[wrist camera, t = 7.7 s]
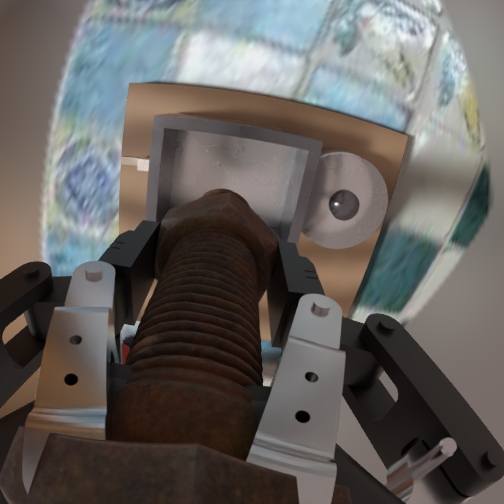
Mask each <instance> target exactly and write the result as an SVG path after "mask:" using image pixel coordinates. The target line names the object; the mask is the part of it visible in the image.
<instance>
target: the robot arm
mask: <svg viewBox="0 0 504 504" xmlns="http://www.w3.org/2000/svg"><path fill="white" fill-rule="evenodd" d="M160 227H161V222H154V221H147V220H142V222H141V223H140V224H139V225H138V226H137V228H136V229H135V230H134V231H132V230H128V231H126V232H124V233H122V234H120V235H119V236H118V237H117V238H116V239H115V240H114V242H113V243H112V244H111V245H110V248H108V249H107V250H106V251H105V252H104V254H103V255H102V256H101V257H100V259H99V260H98V261H90V262H86V263H83V264H81V265H79V266H78V267H77V268H76V269H75V270H74V272H73V275H72V276H65V277H52V272H51V267H50V266H49V265H48V264H47V263H44V262H39V261H37V262H29V263H26V264H24V265H22V266H20V267H19V268H17V269H15V270H14V271H12V272H11V273H9V274H8V275H6V276H5V277H3V278H2V279H0V408H1V407H2V406H3V405H4V404H5V403H6V401H7V400H8V399H9V398H10V397H11V396H12V395H13V394H14V393H15V392H16V391H17V390H18V389H19V388H20V387H21V386H22V385H23V384H24V382H26V381H27V379H28V378H29V377H30V376H31V375H32V374H33V373H34V372H35V371H36V370H37V369H38V368H39V367H40V366H41V367H40V372H39V378H38V384H37V390H36V397H35V400H34V401H32V402H30V403H28V404H27V405H25V406H23V407H21V408H19V409H17V410H16V411H14V412H12V413H10V414H8V415H6V416H5V417H3V418H1V419H0V473H1V471H2V468H3V465H4V462H5V460H6V457H7V455H8V452H9V449H10V447H11V445H12V442H13V440H14V437H15V435H16V433H17V430H18V428H19V426H25V430H24V442H23V459H22V478H23V483H24V487H25V489H26V491H27V494H28V493H29V490H30V486H31V483H32V480H33V477H34V474H35V471H36V468H37V465H38V462H39V459H40V456H41V454H42V451H43V448H44V446H45V443H46V441H47V438H48V436H49V433H58V434H64V435H70V436H76V437H83V438H91V439H100V440H109V441H113V436H112V406H113V403H114V400H115V397H116V394H117V391H118V389H119V388H120V387H121V386H123V385H124V384H126V380H124V379H125V377H127V376H129V375H131V374H133V373H134V372H133V371H132V370H131V369H130V366H128V365H123V364H122V334H121V330H122V327H123V325H124V324H128V325H133V326H134V325H135V323H136V320H137V318H138V316H139V313H140V311H141V309H142V306H143V304H144V302H145V300H146V297H147V295H148V293H149V291H150V288H151V286H152V284H153V282H154V280H155V273H154V263H155V253H156V247H157V241H158V236H159V232H160ZM277 243H278V253H277V258H276V262H275V266H274V269H273V272H272V275H271V278H270V282H269V284H268V286H267V289H266V293H267V303H268V314H269V324H270V335H271V345H272V347H279V348H281V350H282V353H281V356H280V359H279V361H278V364H277V367H276V370H275V373H274V376H273V379H272V382H271V385H270V387H268V386H256V385H249V386H246V387H245V388H246V389H247V390H249V391H250V392H252V393H253V394H254V400H252V401H251V404H252V405H253V406H254V407H255V408H256V410H257V430H256V432H255V435H254V438H253V441H252V443H251V446H250V449H249V451H248V454H247V456H246V459H245V461H246V462H249V463H253V464H256V465H259V466H262V467H265V468H269V469H272V470H276V471H279V472H283V473H287V474H290V475H293V476H296V477H297V486H298V495H299V504H331V501H332V496H333V491H334V485H335V484H337V485H342V486H347V487H349V489H350V494H351V500H352V504H462V503H464V502H466V501H467V500H469V499H471V498H472V497H474V496H476V495H477V494H479V493H480V492H482V491H483V490H485V489H486V488H488V487H489V486H491V485H492V484H494V483H495V482H497V481H498V480H499V479H501V478H502V477H503V475H504V451H503V449H502V448H501V446H500V445H499V443H498V442H497V441H496V439H495V438H494V437H493V435H492V434H491V433H490V431H489V430H488V429H487V427H486V426H485V425H484V423H483V422H482V421H481V420H480V418H479V417H478V416H477V414H476V413H475V412H474V411H473V409H472V408H471V407H470V406H469V404H468V403H467V402H466V401H465V399H464V398H463V397H462V395H461V394H460V393H459V392H458V391H457V389H456V388H455V387H454V386H453V384H452V383H451V382H450V381H449V380H448V378H447V377H446V376H445V375H444V374H443V373H442V371H441V370H440V369H439V368H438V366H437V365H436V364H435V363H434V362H433V361H432V359H431V358H430V357H429V356H428V355H427V354H426V352H425V351H423V349H422V348H421V347H420V346H419V344H418V343H417V342H416V341H415V340H414V339H413V338H412V337H411V335H410V334H409V333H408V332H407V331H406V330H405V329H404V328H403V327H402V325H401V324H400V323H399V322H398V321H396V320H395V319H393V318H392V317H390V316H387V315H384V314H378V313H376V314H371V315H369V316H368V317H367V319H366V321H365V323H364V324H363V323H360V322H357V321H354V320H350V319H348V318H345V317H343V316H342V309H341V307H340V306H339V305H338V303H336V302H335V301H334V300H332V299H331V298H329V297H327V296H326V295H325V293H324V290H323V287H322V285H321V282H320V280H319V277H318V274H317V271H316V269H315V266H314V264H313V263H312V262H311V261H310V260H309V259H308V258H307V257H302V256H299V253H298V250H297V247H296V244H295V243H290V242H284V241H278V240H277ZM22 313H24V316H25V319H26V322H27V326H26V327H25V328H24V329H22V330H21V331H20V332H19V333H18V334H17V335H15V336H14V337H13V338H12V339H11V340H10V341H8V342H7V343H6V344H5V345H4V343H3V340H2V335H3V331H4V329H5V328H6V327H7V326H8V325H9V324H10V323H11V322H13V321H14V320H15V319H16V318H17V317H19V316H20V315H21V314H22ZM383 371H385V372H386V373H387V374H388V376H389V377H390V379H391V380H392V382H393V383H394V384H395V386H396V387H397V390H398V400H397V402H395V401H394V400H393V398H392V397H391V395H390V394H389V393H388V391H387V390H386V388H385V387H384V386H383V384H382V383H381V381H380V380H379V377H380V376H381V374H382V373H383ZM342 395H343V397H344V399H345V400H346V402H347V404H348V405H349V407H350V409H351V410H352V412H353V414H354V415H355V417H356V418H357V420H358V422H359V424H360V425H361V427H362V429H363V430H364V432H365V434H366V435H367V437H368V439H369V440H370V442H371V443H372V445H373V447H374V449H375V450H376V452H377V454H378V455H379V457H380V458H381V460H382V462H383V463H384V465H385V467H386V469H387V470H388V471H387V477H386V479H387V483H386V484H385V486H384V485H383V484H382V483H380V482H379V481H378V480H377V479H376V478H374V477H373V476H372V475H371V474H370V473H369V472H367V471H366V470H365V469H364V468H363V467H362V466H360V464H358V463H357V462H356V461H355V460H354V459H353V458H352V457H351V456H350V455H348V454H347V453H346V452H345V451H344V450H343V449H342V448H341V447H340V446H339V445H337V444H336V438H337V432H338V424H339V417H340V408H341V400H342ZM0 504H8V502H7V500H6V499H5V497H4V495H3V493H2V491H1V489H0Z"/></svg>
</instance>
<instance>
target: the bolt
mask: <svg viewBox="0 0 504 504" xmlns="http://www.w3.org/2000/svg"><path fill="white" fill-rule="evenodd" d="M203 195H204V196H202V197H201V198H199V199H197V200H194V201H191V202H187V203H184V204H182V205H180V206H177V207H175V208H172V209H170V210H169V211H168V212H167V214H166V215H165V217H164V218H163V220H162V223H161V227H160V232H159V236H158V241H157V247H156V253H155V263H154V273H155V279H156V280H157V284H156V286H155V289H154V291H153V294H152V297H151V298H150V300H149V302H148V305H147V307H146V308H145V310H144V314H143V316H142V318H141V321H140V324H139V326H138V329H137V332H136V335H135V337H134V339H133V343H132V344H131V346H130V351H129V353H128V355H127V357H126V361H125V364H124V365H128V366H130V369H131V370H132V371H133V372H134V373H133V374H131V375H129V376H127V377H125V379H124V380H126V384H124V385H123V386H121V387H120V388H119V389H118V391H117V394H116V397H115V400H114V403H113V406H112V436H113V441H109V440H100V439H91V438H83V437H76V436H70V435H64V434H58V433H49V436H48V438H47V441H46V443H45V446H44V448H43V451H42V454H41V456H40V459H39V462H38V465H37V468H36V471H35V474H34V477H33V480H32V483H31V486H30V490H29V493H28V494H27V491H26V489H25V487H24V483H23V478H22V459H23V442H24V430H25V426H19V428H18V430H17V433H16V435H15V437H14V440H13V442H12V445H11V447H10V449H9V452H8V455H7V457H6V460H5V462H4V465H3V468H2V471H1V473H0V489H1V491H2V493H3V495H4V497H5V499H6V500H7V502H8V504H299V495H298V486H297V477H296V476H293V475H290V474H287V473H283V472H279V471H276V470H272V469H269V468H265V467H262V466H259V465H256V464H253V463H249V462H246V461H245V459H246V456H247V454H248V451H249V449H250V446H251V443H252V441H253V438H254V435H255V432H256V430H257V410H256V408H255V407H254V406H253V405H252V404H251V401H252V400H254V394H253V393H252V392H250V391H249V390H247V389H246V388H245V387H246V386H249V385H256V386H263V377H262V371H263V368H262V357H261V351H262V349H261V334H260V333H261V332H260V318H259V302H260V300H261V299H262V297H263V295H264V293H265V291H266V289H267V286H268V284H269V282H270V278H271V275H272V272H273V269H274V266H275V262H276V258H277V253H278V243H277V236H276V235H275V234H274V233H273V231H272V230H271V229H270V228H269V227H268V226H267V224H266V223H265V222H264V221H263V220H262V219H261V218H260V217H259V216H258V215H257V214H256V213H255V212H254V211H253V210H252V209H251V208H250V206H249V204H248V202H247V201H246V200H245V199H244V198H243V197H242V196H241V195H239V194H237V193H235V192H234V191H232V190H228V189H220V188H219V189H213V190H211V191H208V192H206V193H204V194H203ZM331 504H352V500H351V494H350V489H349V487H347V486H342V485H337V484H335V485H334V491H333V496H332V501H331Z"/></svg>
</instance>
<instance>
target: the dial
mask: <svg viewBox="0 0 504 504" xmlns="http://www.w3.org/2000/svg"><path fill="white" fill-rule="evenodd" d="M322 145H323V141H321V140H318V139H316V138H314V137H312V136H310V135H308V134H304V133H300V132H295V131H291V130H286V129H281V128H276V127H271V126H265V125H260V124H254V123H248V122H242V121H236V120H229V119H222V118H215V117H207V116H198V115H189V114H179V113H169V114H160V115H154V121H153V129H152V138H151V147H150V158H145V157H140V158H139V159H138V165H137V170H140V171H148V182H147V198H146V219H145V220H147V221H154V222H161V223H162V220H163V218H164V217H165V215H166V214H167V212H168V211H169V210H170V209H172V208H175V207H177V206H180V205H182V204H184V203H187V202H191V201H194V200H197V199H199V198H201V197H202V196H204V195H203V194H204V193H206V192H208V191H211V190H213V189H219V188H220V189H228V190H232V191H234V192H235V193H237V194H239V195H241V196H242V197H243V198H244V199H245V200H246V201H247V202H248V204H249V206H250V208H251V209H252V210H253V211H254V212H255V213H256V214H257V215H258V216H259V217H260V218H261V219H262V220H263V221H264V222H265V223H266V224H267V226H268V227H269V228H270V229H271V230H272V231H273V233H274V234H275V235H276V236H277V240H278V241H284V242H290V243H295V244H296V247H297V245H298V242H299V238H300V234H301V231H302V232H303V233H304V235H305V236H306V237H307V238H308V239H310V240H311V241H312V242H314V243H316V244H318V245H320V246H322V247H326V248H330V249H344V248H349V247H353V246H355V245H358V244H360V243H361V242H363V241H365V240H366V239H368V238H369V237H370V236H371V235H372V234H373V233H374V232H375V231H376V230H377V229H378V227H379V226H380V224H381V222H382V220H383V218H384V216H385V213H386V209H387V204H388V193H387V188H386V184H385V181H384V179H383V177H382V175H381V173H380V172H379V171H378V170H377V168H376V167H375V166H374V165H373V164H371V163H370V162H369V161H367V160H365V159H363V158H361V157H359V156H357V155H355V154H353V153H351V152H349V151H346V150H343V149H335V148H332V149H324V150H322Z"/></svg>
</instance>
